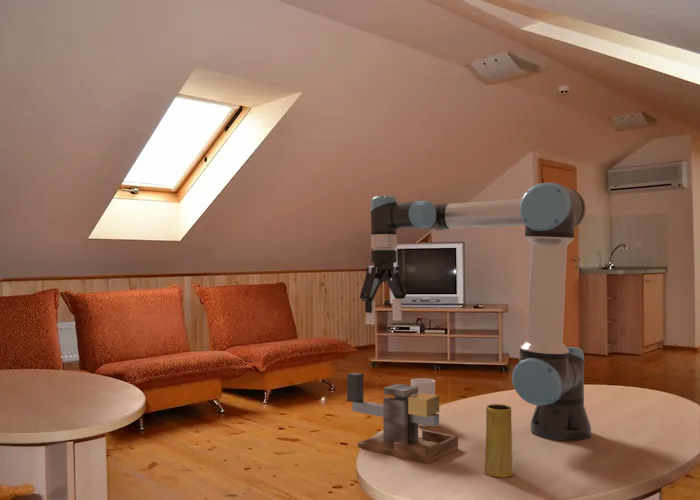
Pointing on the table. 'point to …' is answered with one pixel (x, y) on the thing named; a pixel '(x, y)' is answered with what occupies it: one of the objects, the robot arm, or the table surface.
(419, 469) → the table surface
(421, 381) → the mug
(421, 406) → the spacer
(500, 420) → the vase
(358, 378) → the grey l-shaped bar
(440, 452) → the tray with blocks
